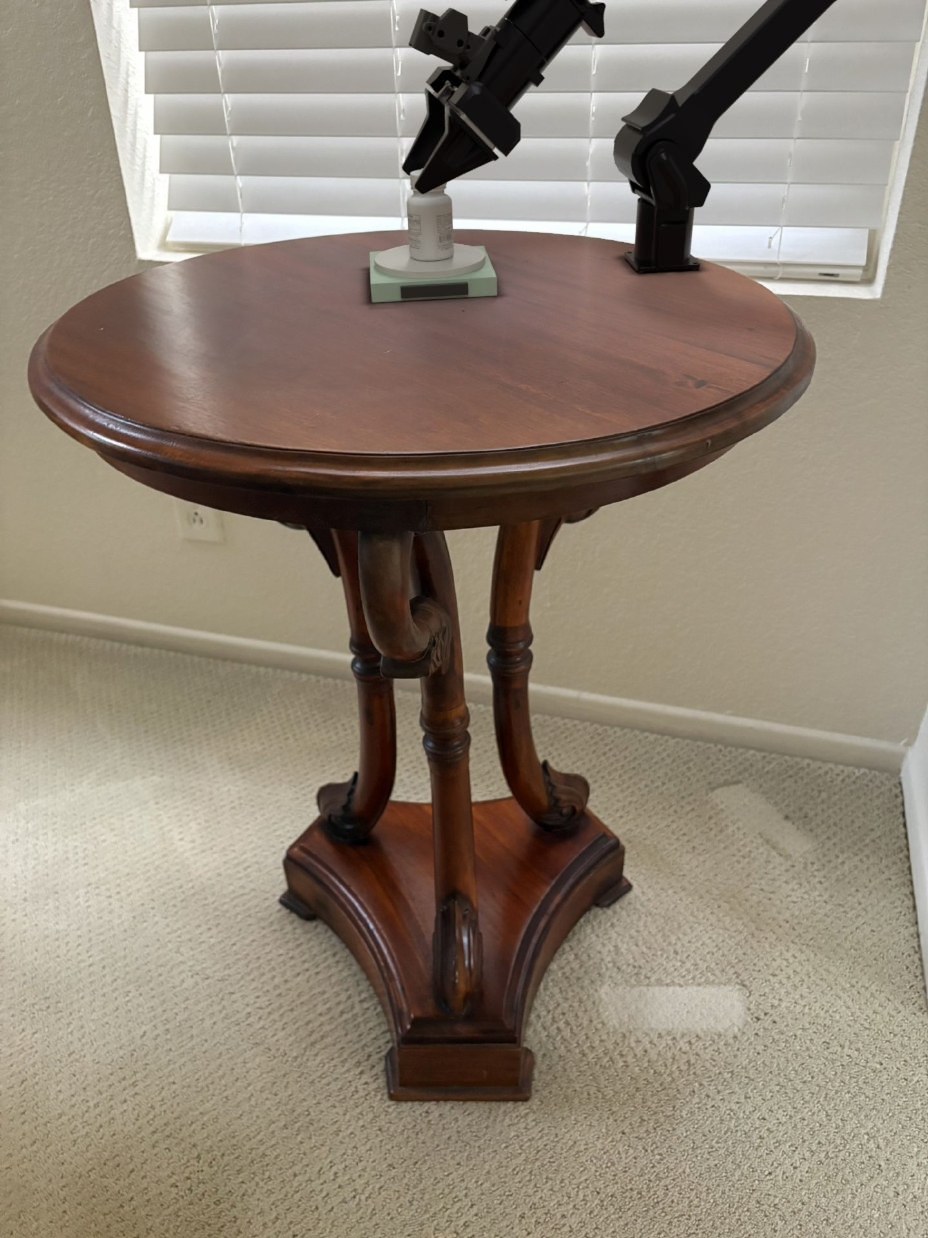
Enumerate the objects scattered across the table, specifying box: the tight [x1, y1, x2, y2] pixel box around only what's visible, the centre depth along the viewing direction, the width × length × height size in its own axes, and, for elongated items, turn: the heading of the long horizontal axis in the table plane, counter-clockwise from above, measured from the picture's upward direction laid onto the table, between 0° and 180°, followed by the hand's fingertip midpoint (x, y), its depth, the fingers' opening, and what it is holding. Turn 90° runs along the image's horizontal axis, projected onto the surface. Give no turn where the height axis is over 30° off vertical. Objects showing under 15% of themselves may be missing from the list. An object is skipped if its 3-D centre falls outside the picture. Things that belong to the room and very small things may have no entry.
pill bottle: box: [406, 169, 455, 261], centre depth 97 cm, size 4×4×8 cm
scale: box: [369, 242, 498, 303], centre depth 100 cm, size 12×12×2 cm
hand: (411, 180), depth 95 cm, fingers open, 9 cm apart
